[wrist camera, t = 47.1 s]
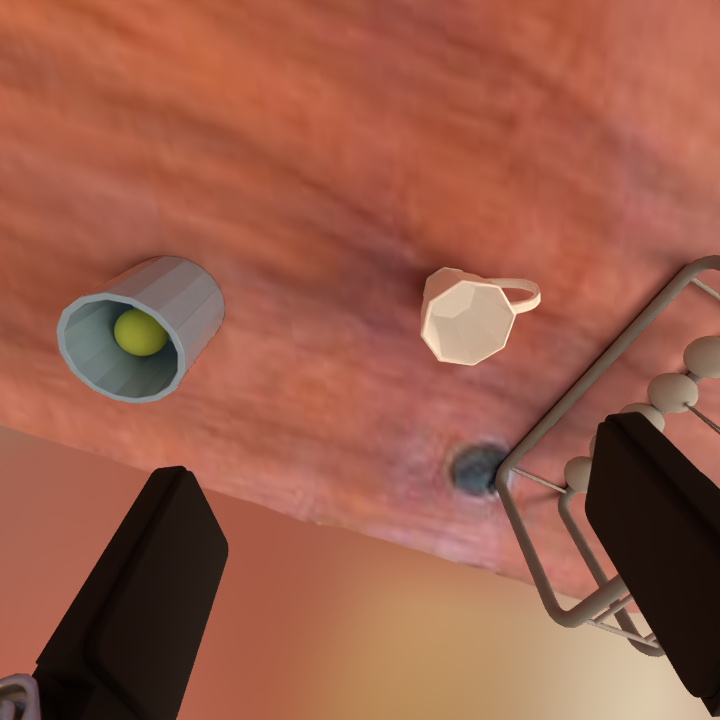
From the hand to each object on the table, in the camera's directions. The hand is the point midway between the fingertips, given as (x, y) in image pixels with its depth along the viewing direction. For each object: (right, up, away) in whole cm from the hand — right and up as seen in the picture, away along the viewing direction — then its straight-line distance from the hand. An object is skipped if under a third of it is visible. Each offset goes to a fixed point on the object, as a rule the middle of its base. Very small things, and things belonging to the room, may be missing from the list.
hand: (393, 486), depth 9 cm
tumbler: (-18, +8, +28) cm, 34 cm away
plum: (-18, +6, +23) cm, 29 cm away
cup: (+9, +10, +27) cm, 30 cm away
